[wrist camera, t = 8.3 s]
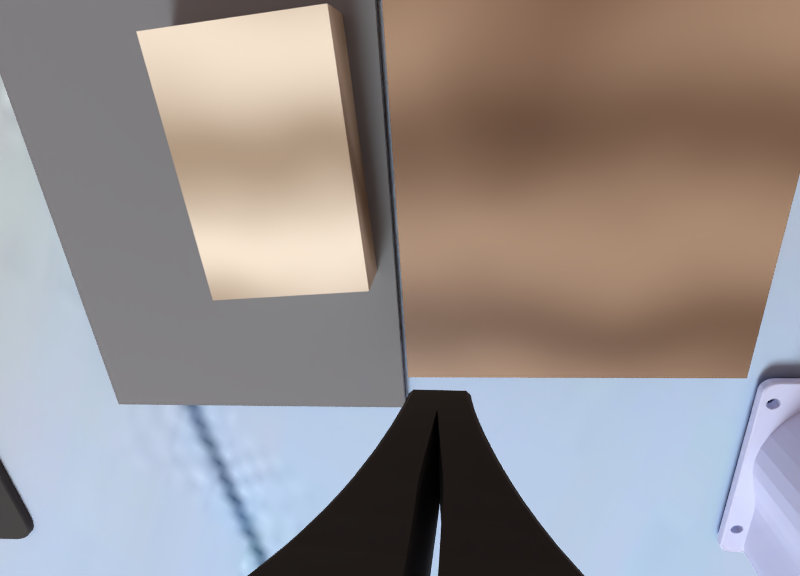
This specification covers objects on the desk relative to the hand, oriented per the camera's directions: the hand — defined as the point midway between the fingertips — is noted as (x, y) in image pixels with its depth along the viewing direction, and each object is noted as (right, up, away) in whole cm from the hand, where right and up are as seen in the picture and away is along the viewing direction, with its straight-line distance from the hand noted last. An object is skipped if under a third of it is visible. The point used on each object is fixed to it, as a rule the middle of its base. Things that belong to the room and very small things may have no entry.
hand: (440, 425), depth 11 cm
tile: (-5, +8, +6) cm, 11 cm away
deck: (+5, +8, +6) cm, 11 cm away
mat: (-8, +8, +7) cm, 14 cm away
